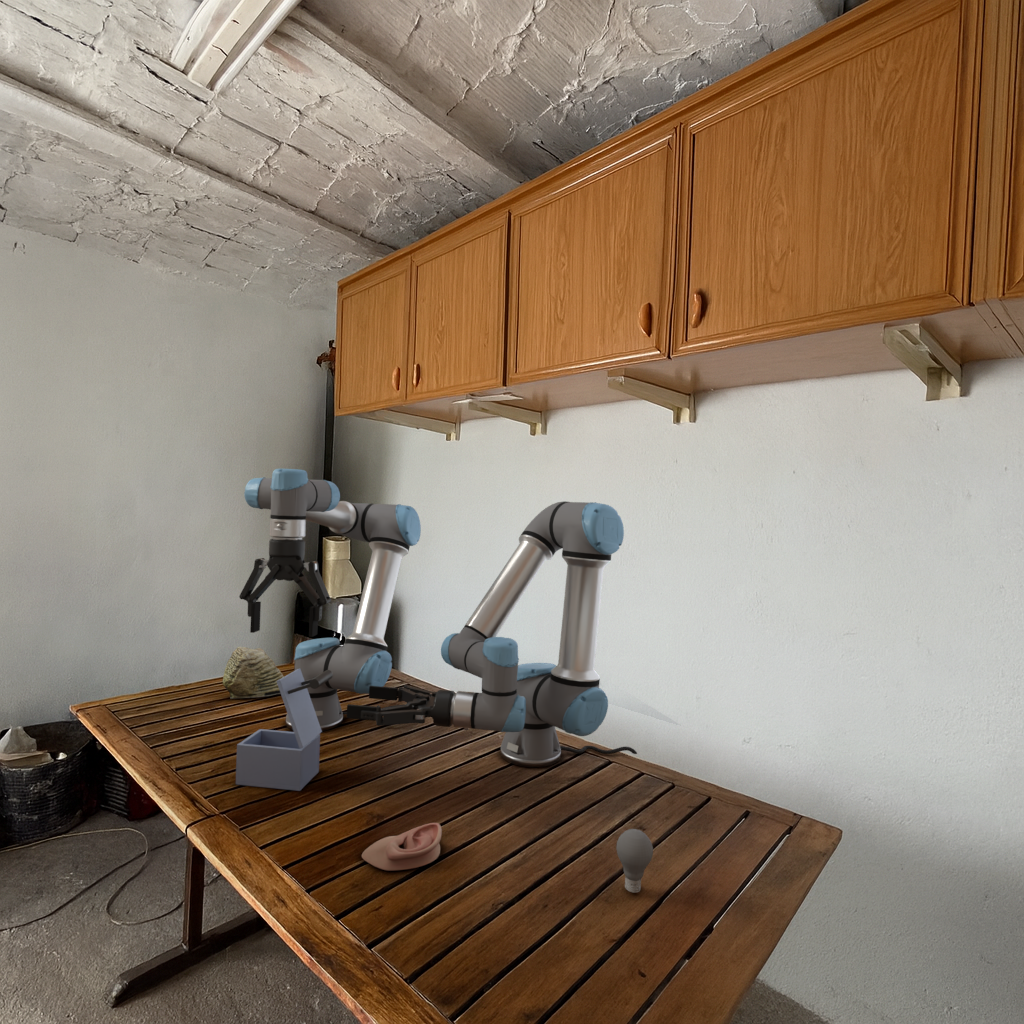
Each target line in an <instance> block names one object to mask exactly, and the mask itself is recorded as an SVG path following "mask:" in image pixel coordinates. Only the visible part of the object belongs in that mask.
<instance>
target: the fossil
mask: <svg viewBox="0 0 1024 1024" xmlns="http://www.w3.org/2000/svg"><path fill="white" fill-rule="evenodd" d="M222 676H223V677H222V685H223V687H224V688H225V690H226V691H228V693H229V698H230V699H250V698H264V697H271V696H275V695H281V693H280V690H279V687H278V684H277V681H278V680H279V679H281V678H283V677H285V676H284V674H283V673H282V672H281V669H279V668H278V667H277V665H276V663H275V662H274V660H273V659H272V658H271V657H270V656H269V655H268V654H267V653H266V652H265V650H264V649H263V648H260V647H258V648H251V647H247V646H246V647H245V646H238V647H237V648H236V649H235V650H233V651H232V653H231V656H230V657H229V659H228V660H227V663H226V666H225V668H224V671H223V675H222Z"/></svg>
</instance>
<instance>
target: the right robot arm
mask: <svg viewBox="0 0 1024 1024" xmlns="http://www.w3.org/2000/svg"><path fill="white" fill-rule="evenodd" d="M624 536H625V530H624V524H623V520H622V517H621V516H620V515H619V513H618V511H617V510H616V509H615V508H614V507H613V506H611V505H609V504H606V503H600V502H594V501H593V502H578V501H566V500H565V501H563V500H562V501H558V502H554V503H552V504H550V505H548V506H546V507H545V508H543V510H541V511H540V512H539V513H538V514H537V515H536V516H534V518H533V519H532V520H530V522H529V523H528V524H527V526H526V527H525V528H524V530H522V532H521V534H520V535H519V537H518V543H519V544H518V545H517V547H516V548H515V550H514V551H513V553H512V554H511V556H510V558H509V559H508V560H507V562H506V564H505V565H504V566H503V568H502V569H501V571H500V572H499V574H498V576H497V577H496V578H495V579H494V581H493V583H492V584H491V586H489V589H488V590H487V591H486V593H485V594H484V596H483V597H482V599H481V601H480V602H479V604H478V605H477V606H476V608H475V610H474V611H473V612H472V614H471V615H470V617H469V618H468V620H467V621H466V623H465V624H464V625H463V627H462V629H461V631H460V632H456V633H455V632H454V633H451V634H449V635H448V636H446V637H445V638H444V640H443V641H442V643H441V647H440V654H441V658H442V660H443V661H444V662H445V663H446V664H448V665H449V666H451V667H453V668H454V669H456V670H459V671H463V672H466V673H468V674H471V675H473V676H476V677H478V678H480V679H481V692H476V691H465V690H457V691H456V692H455V691H454V690H449V689H439V690H437V691H433V690H428V689H425V688H424V689H423V688H421V687H416V686H412V685H410V684H409V685H408V684H405V685H403V686H400V687H395V686H394V687H392V686H383V687H381V686H369V694H368V699H371V700H372V699H373V700H385V701H397V702H398V703H401V702H405V704H406V705H404V704H400V705H401V706H395V705H393V706H394V707H389V706H387V707H388V708H385V707H381V706H380V705H378V704H377V705H376V706H374V705H373V706H372V705H361V704H360V705H359V704H349V703H348V704H347V705H346V712H347V715H346V719H351V720H363V721H373V722H374V721H375V722H376V723H375V725H376V726H377V727H383V726H393V725H394V726H395V725H406V724H407V725H408V724H425V722H426V718H432V721H433V725H435V727H443V728H444V727H446V728H450V727H452V726H453V727H454V728H460V729H463V730H464V731H468V730H469V729H471V730H482V731H483V730H484V731H491V732H500V733H504V736H503V738H502V741H501V745H500V752H499V753H500V757H501V758H502V759H503V760H504V761H506V762H508V763H509V764H511V765H515V766H519V767H525V768H544V767H549V766H552V765H555V764H557V763H558V762H559V761H560V760H561V758H562V751H565V752H570V753H573V754H577V755H579V754H583V753H584V752H586V751H587V750H589V751H591V750H592V751H594V752H596V753H599V754H602V755H612V754H613V755H614V754H616V753H620V752H624V751H628V752H630V753H631V754H633V755H637V754H638V752H637V751H636V750H635V749H634V748H633V747H630V746H619V747H617V748H613V749H601V748H599V747H596V746H594V745H584V746H583V747H582V748H581V749H575V748H573V747H568V746H563V745H560V740H559V737H558V733H557V730H556V728H557V729H559V730H562V731H564V732H565V733H567V734H570V735H571V734H572V735H575V736H578V737H586V736H590V735H591V734H594V733H595V732H596V731H597V730H598V729H599V727H600V726H601V725H602V724H603V722H604V720H605V719H606V716H607V713H608V708H609V699H608V696H607V695H606V692H605V691H604V690H603V689H602V688H600V682H601V681H600V680H601V676H600V675H599V673H598V672H597V671H596V669H595V666H596V665H595V664H596V654H597V643H598V634H599V633H598V632H599V621H600V613H601V599H602V590H603V580H604V579H603V578H604V569H605V567H606V566H608V565H609V564H610V563H611V561H612V555H613V554H615V553H616V552H618V551H619V549H620V547H621V546H622V544H623V541H624ZM560 550H562V551H561V558H562V559H563V560H564V562H565V563H566V565H567V567H566V577H565V586H564V587H565V588H564V599H563V609H562V618H561V619H562V620H561V630H560V641H559V652H558V661H557V665H556V664H555V663H549V662H529V663H528V662H527V663H521V664H519V661H520V658H519V644H518V642H517V641H516V640H515V639H513V638H511V637H504V636H498V634H499V633H500V631H501V630H502V628H503V626H504V625H505V624H506V622H507V620H508V619H509V617H510V615H511V614H512V613H513V611H514V610H515V608H516V607H517V605H518V604H519V602H520V600H521V599H522V598H523V596H524V594H525V592H526V591H527V590H528V588H529V587H530V584H532V582H533V580H534V578H535V577H536V575H537V574H538V572H539V571H540V569H541V568H542V566H543V565H544V563H545V562H546V561H550V560H551V559H552V558H553V557H554V555H555V554H556V553H557V552H558V551H560Z"/></svg>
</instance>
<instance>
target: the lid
mask: <svg viewBox="0 0 1024 1024" xmlns="http://www.w3.org/2000/svg"><path fill="white" fill-rule="evenodd" d="M332 676H333V673H332V672H331V671H330V670H326V671H324V672H323V673H321V674H320V675H318V676H316V677H315V678H313V679H310V680H307V681H304V678H303V675H302V672H301V669H297V670H295V671H294V670H293V671H292V672H290V673H288V674H286V675H285V676H284V677H283V678H281V679H279V680H278V681H277V684H278V687H279V690H280V695H281V699H282V701H283V704H284V707H285V710H286V714H287V713H288V716H289V719H290V722H291V725H292V728H293V730H292V732H294V734H295V737H296V739H297V742H298V745H299V748H300V749H301V748H303V747H305V746H306V745H307V744H308V743H309V742H310V741H312V740H313V739H314V738H315V737H316V736H317V735H319V734H320V735H321V733H323V731H322V730H321V727H320V724H319V722H318V719H317V716H316V713H315V710H314V707H313V704H312V701H311V698H310V695H309V692H308V690H307V688H308V687H311V688H313V689H316V688H318V687H319V686H321V685H322V684H324V683H325V682H327V681H328V680H330V679H331V678H332ZM308 683H309V684H308Z"/></svg>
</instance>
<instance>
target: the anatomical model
mask: <svg viewBox="0 0 1024 1024" xmlns="http://www.w3.org/2000/svg"><path fill="white" fill-rule="evenodd" d="M442 835H443V829H442V826H441V824H440V823H439V822H430V823H425V824H422V825H419V826H417V827H414V828H412V829H410V830H407V831H404V832H402V833H399V834H397V835H389V836H385V837H383V838H381V839H379V840H377V841H375V842H373V843H372V844H370V845H369V846H368V847H367V848H366V849H364V851H362V852H361V853H362V854H361V858H362V859H363V861H365V862H366V863H368V864H370V865H371V866H373V867H375V868H377V869H379V870H384V871H387V872H389V871H390V872H391V871H403V870H412V869H416V868H419V867H423V866H426V865H428V864H431V863H433V862H434V861H435V860H437V859H439V856H440V855H441V844H440V842H441V839H442Z"/></svg>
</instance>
